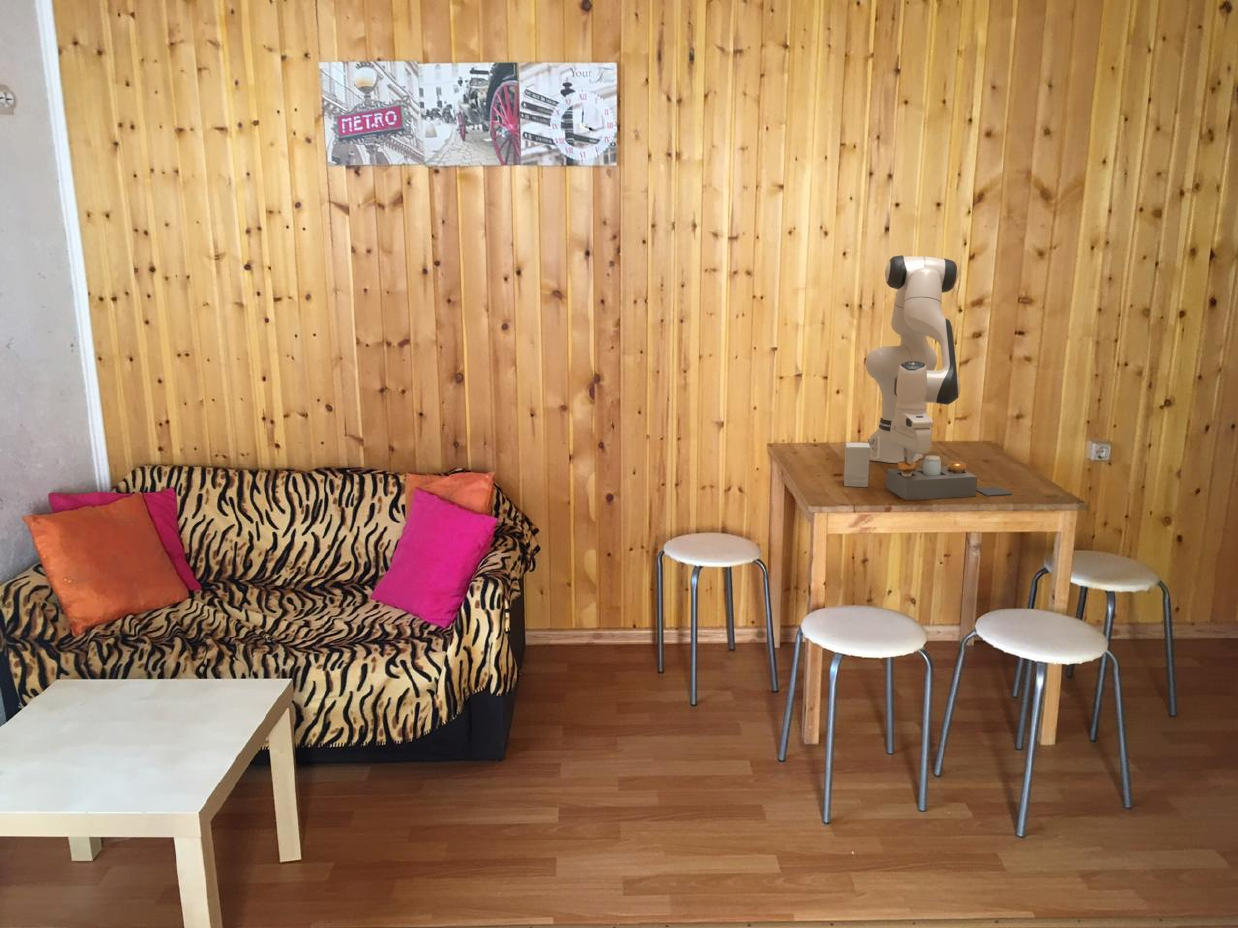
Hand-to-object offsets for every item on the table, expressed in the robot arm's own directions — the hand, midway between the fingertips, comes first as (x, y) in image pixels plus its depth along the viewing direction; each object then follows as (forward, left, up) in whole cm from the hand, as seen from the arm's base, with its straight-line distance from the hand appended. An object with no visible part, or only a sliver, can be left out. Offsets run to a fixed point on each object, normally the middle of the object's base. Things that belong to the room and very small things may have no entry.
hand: (908, 462), depth 301 cm
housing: (0, +8, -10) cm, 12 cm away
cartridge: (0, +8, -10) cm, 12 cm away
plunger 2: (0, +16, -9) cm, 18 cm away
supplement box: (-14, -10, -10) cm, 20 cm away
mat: (+4, +26, -10) cm, 28 cm away
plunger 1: (0, 0, -8) cm, 8 cm away
